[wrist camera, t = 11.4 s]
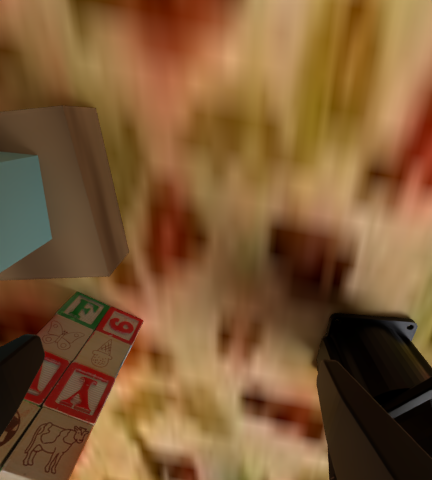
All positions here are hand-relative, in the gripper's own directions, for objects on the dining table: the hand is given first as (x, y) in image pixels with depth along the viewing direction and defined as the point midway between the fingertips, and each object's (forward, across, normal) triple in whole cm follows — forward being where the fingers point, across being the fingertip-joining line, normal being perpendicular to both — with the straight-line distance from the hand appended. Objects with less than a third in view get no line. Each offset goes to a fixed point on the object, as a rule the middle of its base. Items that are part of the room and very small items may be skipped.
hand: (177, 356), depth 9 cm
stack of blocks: (+12, +13, +18) cm, 25 cm away
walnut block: (+12, +12, -2) cm, 17 cm away
